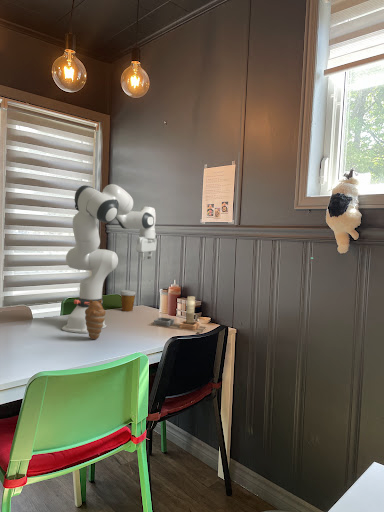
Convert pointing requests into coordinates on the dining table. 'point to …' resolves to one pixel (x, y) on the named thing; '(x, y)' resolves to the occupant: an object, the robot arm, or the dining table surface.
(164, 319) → the rail board
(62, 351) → the dining table surface
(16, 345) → the dining table surface
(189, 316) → the peg
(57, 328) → the dining table surface
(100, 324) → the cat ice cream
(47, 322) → the dining table surface
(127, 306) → the disposable coffee cup
